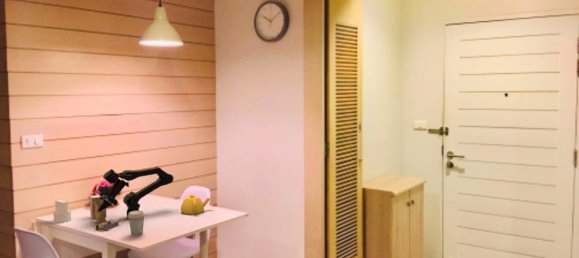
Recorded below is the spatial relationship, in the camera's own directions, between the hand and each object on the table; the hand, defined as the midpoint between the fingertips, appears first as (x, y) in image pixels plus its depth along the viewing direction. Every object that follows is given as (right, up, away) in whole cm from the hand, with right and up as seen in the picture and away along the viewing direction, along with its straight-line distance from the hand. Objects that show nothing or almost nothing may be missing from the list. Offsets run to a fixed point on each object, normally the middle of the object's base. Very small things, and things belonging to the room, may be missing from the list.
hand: (97, 210), depth 267 cm
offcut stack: (+7, -9, -10) cm, 15 cm away
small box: (-5, -7, +15) cm, 17 cm away
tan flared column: (+1, -7, +1) cm, 7 cm away
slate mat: (+1, -8, +2) cm, 8 cm away
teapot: (+51, -6, +26) cm, 57 cm away
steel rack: (+8, -9, -7) cm, 14 cm away
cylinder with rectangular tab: (-23, -8, +7) cm, 25 cm away
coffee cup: (+29, -10, -19) cm, 36 cm away
